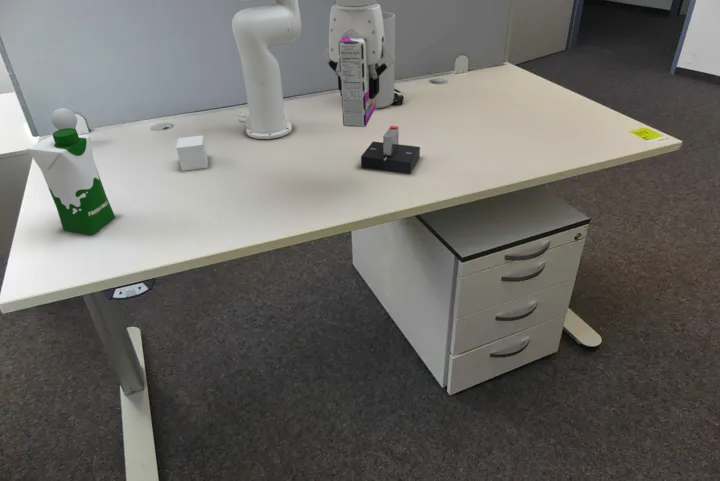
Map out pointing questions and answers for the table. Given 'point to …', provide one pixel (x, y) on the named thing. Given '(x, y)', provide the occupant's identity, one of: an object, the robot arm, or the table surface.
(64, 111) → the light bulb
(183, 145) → the white cube
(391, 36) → the cylinder vase
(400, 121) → the table surface
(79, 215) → the milk carton
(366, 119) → the candy bar box
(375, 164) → the panel
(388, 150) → the tap handle
